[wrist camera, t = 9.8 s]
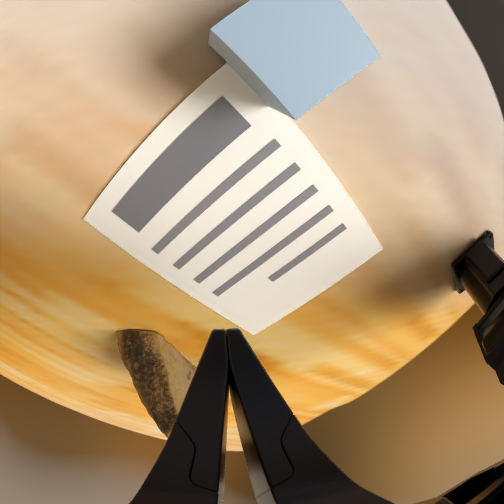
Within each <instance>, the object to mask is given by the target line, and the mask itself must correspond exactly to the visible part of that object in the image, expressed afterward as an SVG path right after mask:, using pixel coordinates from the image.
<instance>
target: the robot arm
mask: <svg viewBox="0 0 504 504" xmlns="http://www.w3.org/2000/svg"><path fill="white" fill-rule="evenodd" d="M452 271H453V275H454V279H455V284H456V289H457V292H458V293H459V294H460V293H462V292H463V291H464V290H466V291H467V292H468V294H469V295H470V296H471V298H472V299H473V300H474V302H475V303H476V305H477V306H478V307H479V309H480V310H481V311H482V313H483V314H484V316H483V317H482V318H481V319H480V320H479V321H478V323H477V324H475V325H474V326H473V330H474V332H475V336H476V338H477V341H478V343H479V346H480V348H481V351H482V353H483V356H484V359H485V361H486V363H487V364H488V365H490V366H491V367H492V368H493V369H494V370H495V371H496V374H497V376H498V378H499V381H500V383H501V384H503V385H504V260H503V259H502V258H501V257H500V256H499V255H498V254H497V253H496V252H495V251H494V238H493V233H492V232H491V231H489V232H487V233H486V234H485V235H484V236H483V237H482V238H481V239H480V240H479V241H478V242H477V243H475V244H474V245H473V246H472V247H471V248H470V249H469V250H468V251H466V252H465V253H464V254H463V255H462V256H461V257H459V258H458V259H457V260H456V261H455V262H454V263H453V264H452ZM229 390H230V396H231V401H232V405H233V410H234V414H235V418H236V423H237V427H238V431H239V435H240V440H241V444H242V448H243V451H244V455H245V460H246V463H247V467H248V471H249V475H250V479H251V482H252V486H253V490H254V493H255V496H256V501H257V504H394V503H392V502H390V501H388V500H386V499H384V498H382V497H380V496H378V495H376V494H374V493H372V492H370V491H368V490H367V489H365V488H363V487H361V486H359V485H358V484H357V483H355V482H354V481H353V480H351V479H350V478H349V477H348V476H347V475H346V474H345V473H344V472H342V470H341V469H340V468H338V466H337V465H336V464H335V463H334V462H333V461H332V460H331V459H330V458H329V457H328V456H327V455H326V454H325V453H324V452H323V451H322V450H321V449H320V447H319V446H318V445H317V444H316V443H315V442H314V441H313V439H312V438H311V437H310V436H309V434H308V433H307V432H306V431H305V429H304V428H303V426H302V425H301V424H300V422H299V421H298V419H297V418H296V416H295V415H293V412H292V411H291V409H290V408H289V406H288V405H287V403H286V401H285V400H284V398H283V397H282V395H281V394H280V392H279V391H278V389H277V388H276V386H275V385H274V383H273V382H272V380H271V378H270V377H269V375H268V374H267V372H266V371H265V369H264V367H263V366H262V364H261V363H260V361H259V360H258V358H257V356H256V355H255V353H254V352H253V350H252V348H251V347H250V345H249V343H248V342H247V340H246V339H245V337H244V335H243V334H242V332H241V330H240V329H238V328H234V329H227V330H225V329H214V330H212V332H211V334H210V337H209V339H208V342H207V344H206V347H205V349H204V351H203V354H202V356H201V359H200V361H199V364H198V366H197V369H196V371H195V374H194V376H193V378H192V381H191V383H190V386H189V388H188V391H187V393H186V396H185V398H184V401H183V403H182V406H181V408H180V411H179V413H178V416H177V418H176V422H175V423H174V425H173V428H172V430H171V433H170V435H169V437H168V439H167V442H166V444H165V446H164V448H163V450H162V452H161V454H160V456H159V457H158V459H157V461H156V463H155V464H154V466H153V468H152V469H151V471H150V473H149V475H148V476H147V478H146V480H145V481H144V483H143V485H142V486H141V488H140V490H139V491H138V493H137V494H136V496H135V497H134V498H133V500H132V501H131V502H130V503H129V504H223V503H224V501H223V500H224V479H225V459H226V458H225V457H226V439H227V420H228V402H229ZM415 504H504V459H503V460H501V461H499V462H498V463H496V464H494V465H492V466H490V467H488V468H486V469H484V470H482V471H480V472H478V473H476V474H474V475H473V476H471V477H469V478H468V479H466V480H464V481H462V482H461V483H459V484H457V485H456V486H454V487H453V488H451V489H450V490H448V491H446V492H445V493H443V494H441V495H440V496H438V497H436V498H433V499H429V500H426V501H422V502H419V503H415Z"/></svg>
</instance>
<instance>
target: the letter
mask: <svg viewBox="0 0 504 504" xmlns="http://www.w3.org/2000/svg"><path fill="white" fill-rule="evenodd" d="M83 219H84V220H85V221H86V222H87V223H89V224H90V225H91V226H93V227H94V228H95V229H97V230H98V231H99V232H100V233H102V234H103V235H104V236H106V237H107V238H108V239H110V240H111V241H112V242H114V243H115V244H116V245H118V246H119V247H121V248H122V249H123V250H125V251H126V252H127V253H129V254H130V255H132V256H133V257H134V258H136V259H137V260H139V261H140V262H141V263H143V264H144V265H146V266H147V267H148V268H150V269H151V270H153V271H154V272H156V273H157V274H159V275H160V276H161V277H163V278H164V279H166V280H167V281H169V282H170V283H172V284H173V285H175V286H176V287H178V288H179V289H181V290H182V291H184V292H185V293H187V294H188V295H190V296H191V297H193V298H194V299H196V300H198V301H199V302H201V303H202V304H204V305H205V306H207V307H208V308H210V309H212V310H213V311H215V312H216V313H218V314H220V315H221V316H223V317H224V318H226V319H228V320H229V321H231V322H233V323H234V324H236V325H238V326H239V327H241V328H243V329H244V330H246V331H248V332H249V333H251V334H253V335H255V334H257V333H259V332H260V331H262V330H264V329H265V328H267V327H269V326H270V325H272V324H273V323H275V322H277V321H278V320H280V319H281V318H283V317H285V316H286V315H288V314H289V313H291V312H292V311H294V310H296V309H297V308H299V307H300V306H302V305H303V304H305V303H306V302H308V301H309V300H311V299H312V298H314V297H315V296H317V295H318V294H320V293H321V292H323V291H324V290H326V289H327V288H329V287H330V286H332V285H333V284H335V283H336V282H338V281H339V280H340V279H342V278H343V277H345V276H346V275H348V274H349V273H350V272H352V271H353V270H355V269H356V268H358V267H359V266H360V265H362V264H363V263H365V262H366V261H367V260H369V259H370V258H371V257H373V256H374V255H375V254H377V253H378V252H380V251H381V250H382V249H383V248H382V246H381V244H380V243H379V241H378V239H377V238H376V236H375V235H374V233H373V231H372V230H371V228H370V227H369V225H368V223H367V222H366V220H365V219H364V217H363V216H362V214H361V212H360V211H359V209H358V208H357V206H356V205H355V203H354V202H353V200H352V199H351V197H350V196H349V195H348V193H347V192H346V190H345V189H344V187H343V186H342V184H341V183H340V182H339V180H338V179H337V177H336V176H335V175H334V173H333V172H332V170H331V169H330V168H329V166H328V165H327V164H326V162H325V161H324V160H323V158H322V157H321V156H320V154H319V153H318V152H317V150H316V149H315V148H314V146H313V145H312V144H311V143H310V141H309V140H308V139H307V138H306V136H305V135H304V134H303V133H302V131H301V130H300V129H299V128H298V126H297V125H296V124H295V123H294V121H293V120H292V119H291V118H290V117H289V116H287V115H285V114H283V113H281V112H279V111H277V110H275V109H273V108H271V107H269V106H268V105H267V104H266V103H265V102H264V101H263V100H262V98H261V97H260V96H259V95H258V94H257V93H256V92H255V91H254V90H253V89H252V88H251V87H250V86H249V84H248V83H247V82H246V81H245V80H244V79H243V78H242V77H241V76H240V75H239V74H238V73H237V72H236V71H235V70H234V69H233V68H232V67H231V66H230V65H229V64H228V63H225V64H224V65H223V66H222V67H221V68H219V69H218V70H217V71H216V72H215V73H214V74H212V75H211V76H210V77H209V78H208V79H207V80H205V81H204V82H203V83H202V84H201V85H200V86H199V87H198V88H197V89H195V90H194V91H193V92H192V93H191V94H190V95H189V96H188V97H187V98H186V99H185V100H184V101H183V102H182V103H181V104H180V105H179V106H178V107H177V108H175V109H174V110H173V111H172V112H171V113H170V114H169V115H168V117H167V118H166V119H165V120H164V121H163V122H162V123H161V124H160V125H159V126H158V127H157V128H156V129H155V130H154V131H153V132H152V133H151V134H150V135H149V137H148V138H147V139H146V140H145V141H144V142H143V143H142V144H141V145H140V147H139V148H138V149H137V150H136V151H135V152H134V153H133V155H132V156H131V157H130V158H129V159H128V160H127V162H126V163H125V164H124V165H123V166H122V168H121V169H120V170H119V171H118V173H117V174H116V175H115V176H114V178H113V179H112V180H111V181H110V183H109V184H108V185H107V187H106V188H105V189H104V191H103V192H102V193H101V195H100V196H99V197H98V199H97V200H96V201H95V203H94V204H93V205H92V207H91V208H90V210H89V211H88V212H87V214H86V215H85V217H84V218H83Z"/></svg>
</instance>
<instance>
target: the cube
mask: <svg viewBox="0 0 504 504" xmlns="http://www.w3.org/2000/svg"><path fill="white" fill-rule="evenodd" d="M208 45H209V46H210V47H211V48H213V49H214V50H215V51H216V52H217V53H218V54H219V55H220V56H221V57H222V58H223V59H224V60H225V61H226V62H227V63H228V64H229V65H230V66H231V67H232V68H233V69H234V70H235V71H236V72H237V73H238V74H239V75H240V76H241V77H242V78H243V79H244V80H245V81H246V82H247V83H248V84H249V86H250V87H251V88H252V89H253V90H254V91H255V92H256V93H257V94H258V95H259V96H260V97H261V98H262V100H263V101H264V102H265V103H266V104H267V105H268V106H269V107H271V108H273V109H275V110H277V111H279V112H281V113H283V114H285V115H287V116H289V117H291V118H293V119H295V120H297V119H298V118H299V117H301V116H302V115H303V114H305V113H306V112H307V111H308V110H310V109H311V108H312V107H313V106H315V105H316V104H317V103H319V102H320V101H321V100H323V99H324V98H325V97H326V96H328V95H329V94H330V93H332V92H333V91H334V90H336V89H337V88H339V87H340V86H341V85H343V84H344V83H345V82H347V81H348V80H349V79H351V78H352V77H354V76H355V75H356V74H358V73H359V72H361V71H362V70H363V69H365V68H366V67H368V66H369V65H371V64H372V63H374V62H375V61H376V60H378V59H379V58H381V56H380V54H379V53H378V51H377V50H376V48H375V47H374V45H373V44H372V42H371V41H370V39H369V38H368V36H367V35H366V33H365V32H364V31H363V29H362V28H361V27H360V25H359V24H358V22H357V21H356V20H355V18H354V17H353V16H352V15H351V13H350V12H349V11H348V9H347V8H346V7H345V6H344V4H343V3H342V2H341V1H340V0H250V1H248V2H247V3H245V4H244V5H242V6H241V7H239V8H238V9H237V10H235V11H234V12H232V13H231V14H229V15H228V16H227V17H225V18H224V19H223V20H221V21H220V22H219V23H217V24H216V25H215V26H213V27H212V28H211V29H210V33H209V40H208Z"/></svg>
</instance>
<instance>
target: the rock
mask: <svg viewBox="0 0 504 504" xmlns="http://www.w3.org/2000/svg"><path fill="white" fill-rule="evenodd" d="M117 337H118V339H119V341H118V346H119V350H120V353H121V357H122V360H123V362H124V365H125V367H126V368H127V369H128V371H129V373H130V375H131V377H132V380H133V384H134V387H135V388H136V390H137V392H138V395H139V397H140V399H141V402H142V403H143V405H144V406H145V408H146V409H147V411H148V413H149V415H150V416H151V417H152V418H153V420H154V421H155V422H156V424H157V426H158V428H159V429H160V431H161V432H162V433H164V434H165V435H166V437H167V438H168V437H169V435H170V433H171V430H172V428H173V425H174V423H175V422H176V418H177V416H178V413H179V411H180V408H181V406H182V403H183V401H184V398H185V396H186V393H187V391H188V388H189V386H190V383H191V381H192V378H193V376H194V374H195V371H196V369H197V368H196V367H195V366H194V365H192V363H190V362H189V361H188V360H186V359H185V358H184V357H183V356H182V355H181V353H180V352H179V351H178V350H177V349H175V348H174V346H173V345H171V344H170V343H169V342H167V341H166V340H165V339H164V337H163V336H161V335H160V334H158V333H156V332H151V331H141V330H124V331H117Z"/></svg>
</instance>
